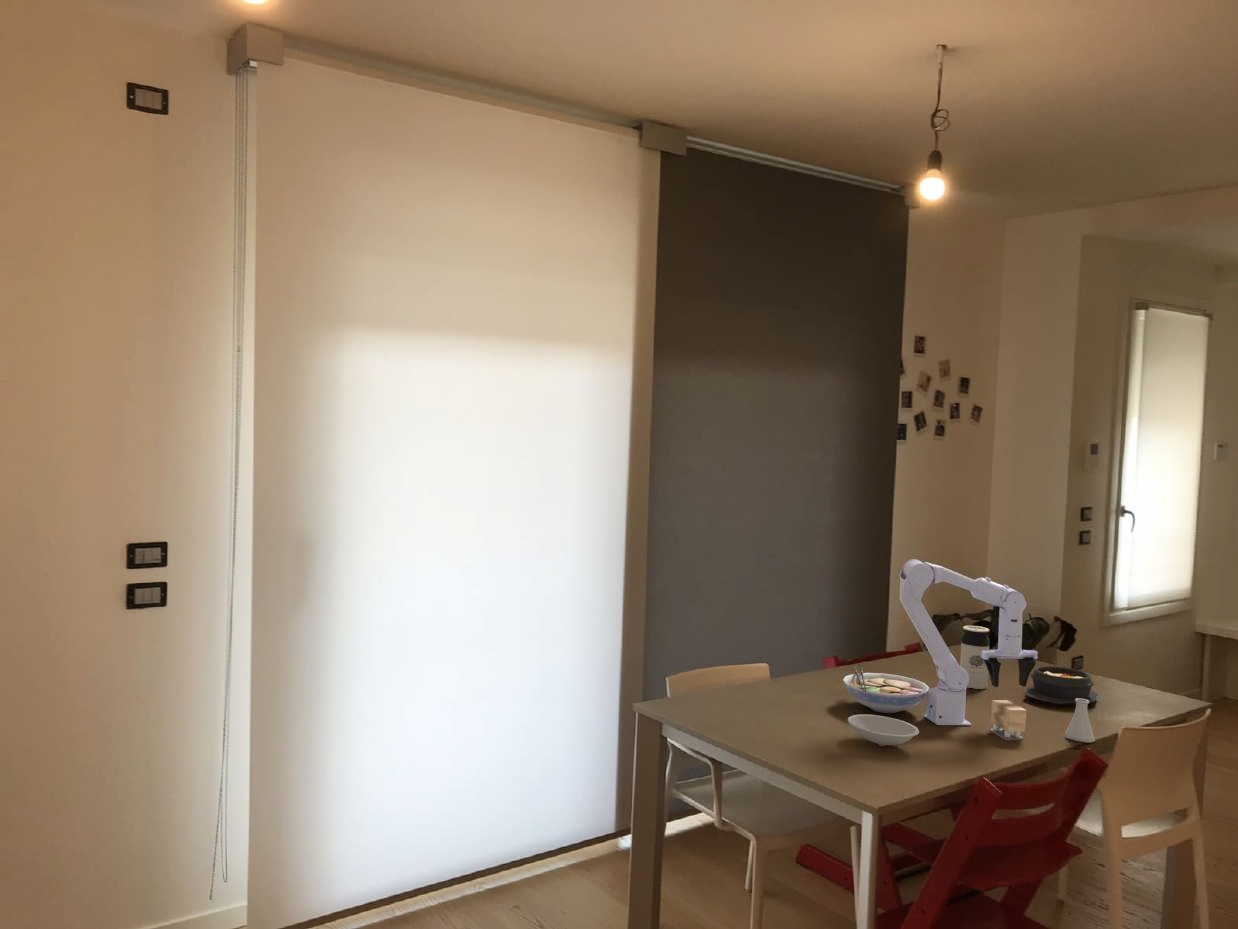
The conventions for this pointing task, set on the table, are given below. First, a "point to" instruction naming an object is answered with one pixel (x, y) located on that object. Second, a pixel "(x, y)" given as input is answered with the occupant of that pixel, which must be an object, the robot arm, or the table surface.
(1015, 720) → the wooden block
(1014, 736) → the peg stand
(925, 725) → the table surface
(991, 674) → the robot arm
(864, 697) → the ramen bowl
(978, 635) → the travel mug
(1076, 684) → the casserole
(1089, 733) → the flask
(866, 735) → the dish
